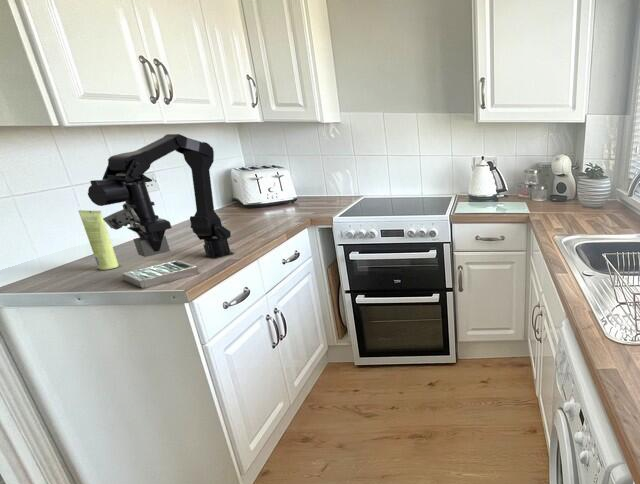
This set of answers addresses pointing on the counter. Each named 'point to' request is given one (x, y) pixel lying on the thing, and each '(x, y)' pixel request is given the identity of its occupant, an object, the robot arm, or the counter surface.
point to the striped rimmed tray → (159, 273)
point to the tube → (99, 239)
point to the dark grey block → (150, 246)
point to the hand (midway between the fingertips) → (153, 249)
